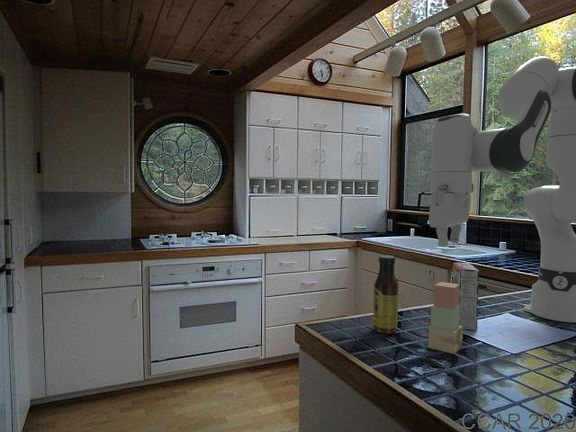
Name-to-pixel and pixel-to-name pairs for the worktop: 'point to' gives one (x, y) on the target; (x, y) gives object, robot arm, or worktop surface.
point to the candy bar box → (467, 294)
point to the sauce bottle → (386, 297)
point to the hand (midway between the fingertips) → (449, 244)
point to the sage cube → (445, 318)
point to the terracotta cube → (446, 295)
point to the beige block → (445, 339)
